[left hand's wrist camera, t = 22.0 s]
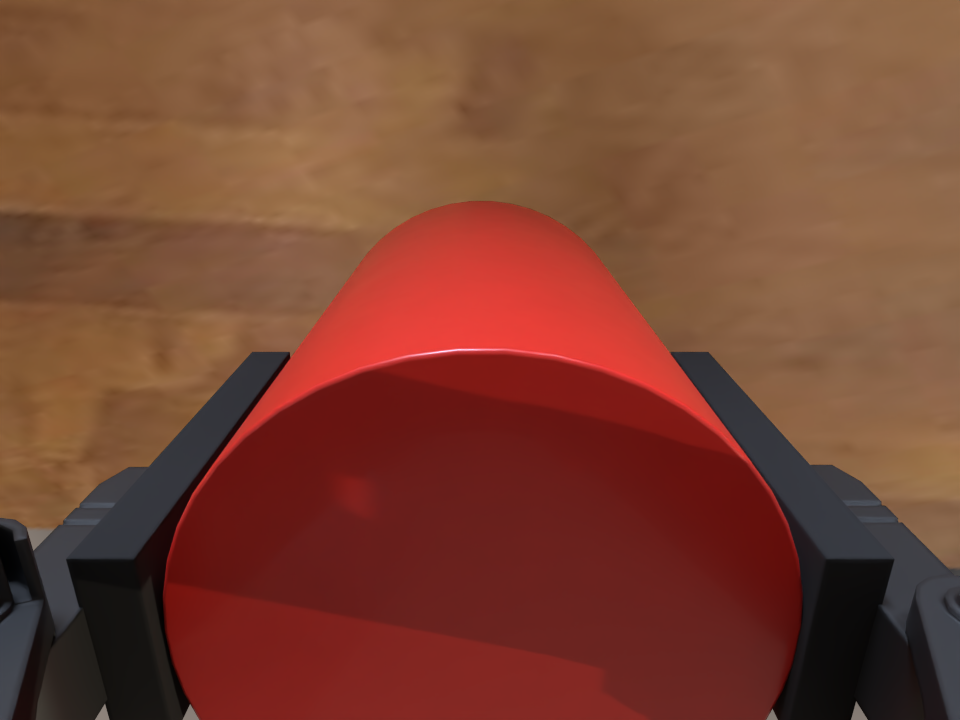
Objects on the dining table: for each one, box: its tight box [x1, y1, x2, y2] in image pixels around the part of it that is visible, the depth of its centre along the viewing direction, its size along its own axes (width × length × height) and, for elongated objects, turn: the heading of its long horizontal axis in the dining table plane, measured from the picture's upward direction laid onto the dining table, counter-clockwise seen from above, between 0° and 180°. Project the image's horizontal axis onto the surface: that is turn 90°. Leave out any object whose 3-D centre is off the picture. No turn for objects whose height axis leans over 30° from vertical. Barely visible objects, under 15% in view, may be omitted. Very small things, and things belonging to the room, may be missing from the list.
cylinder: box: [163, 201, 803, 720], centre depth 13 cm, size 8×8×11 cm
